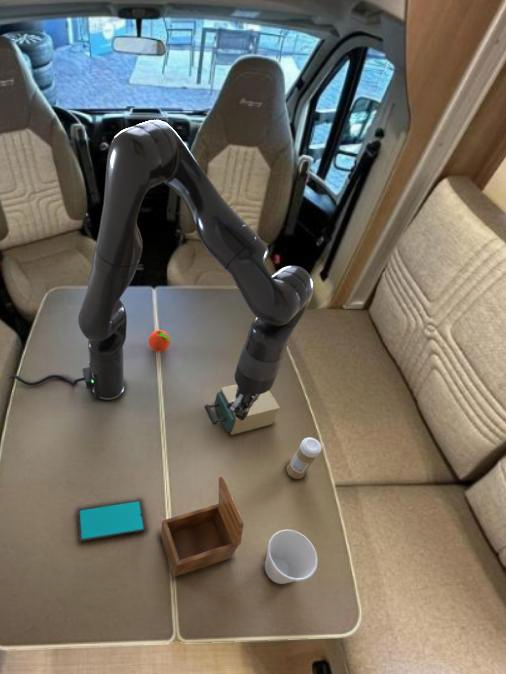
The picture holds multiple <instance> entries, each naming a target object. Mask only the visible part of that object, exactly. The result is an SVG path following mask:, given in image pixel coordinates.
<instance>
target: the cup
mask: <svg viewBox="0 0 506 674" xmlns="http://www.w3.org/2000/svg"><path fill="white" fill-rule="evenodd" d="M318 563H319V560H318V554H317V550H316V549H315V546H314V545H313V544H312V542H311V540H309V538H307V537H306V536H305V535H304V534H302V533H301V532H299V531H297V530H294V529H282V530H279V531H277V532H275V533H274V534H273V535H272V536H271V537H270V538H269V541H268V545H267V554H266V558H265V561H264V570H265V573H266V575H267V577H268V578H269V579H270V580H271V581H272V582H274V583H276V584H278V585H285V584H289V583H293V582H303V581H306V580H308V579H310V578H311V577H313V575H314V574H315V573H316V571H317V569H318Z"/></svg>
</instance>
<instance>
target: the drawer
mask: <svg viewBox="0 0 506 674" xmlns="http://www.w3.org/2000/svg"><path fill="white" fill-rule="evenodd" d="M213 403H214V404H205V405H204V406H203V407H204V410H205V412H206V414H207V415H208V418H209V420H210V422H211V424H212V425H213V426H216V425H217V424H218V423H222V425H223V427H224V429H225V431H226V432H227V433H230V432H231V431H232V428H233V425H234V422H235V416H234V414H233V412H232V411H231V410H230V409H228V408H227V404H228V403H227V401H226V399H225V398H224V396H223V394H222V392H220V391H217V393H216V396H215V400H214V402H213ZM212 408H214V409H215V411H216V412H217V415H218V417H219V418H218V419H217V418H216V416H215V414H214V412H213V410H212Z"/></svg>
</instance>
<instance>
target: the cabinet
mask: <svg viewBox="0 0 506 674" xmlns="http://www.w3.org/2000/svg"><path fill="white" fill-rule="evenodd" d="M237 387H238V385H237V383H236V384H233V385H227V386H224V387H223V386H222V387H221V388H220V390H219V392H222V394H223V396H224V398H225V399H226V401H227V403H231V402H232V401H233V402H235V400H236V393H237V391H236V390H237ZM280 409H281V408H280V406H279V403H278V402H277V400H276V399H275V397H274V396H273V395H272V392H271V391H270V390H269V391H267V392H265V393H263V394H260V396H259V397H258V400H256V401H255V402H254V403H253V406H252V407H251V408H250V409H249V412H248V415H247V417H246V418H245V419H244V420H240V419H238V418H237V417H236V416H235V413H234V412H233V411H232V412H233V414H234V416H235V422H234V425H233V428H232V431H231V432H229V433H230V435H232V436H234V435H236V434H240V433H244V432H249V431H252V430H256V429H260V428H263V427H267V426H270V425H273V423H274V421H275V419H276V418H277V415H278V413H279V411H280Z"/></svg>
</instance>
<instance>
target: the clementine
mask: <svg viewBox="0 0 506 674" xmlns="http://www.w3.org/2000/svg"><path fill="white" fill-rule="evenodd" d="M171 343H172V341H171V337H170V335H169V334H168V333H167V332H166V331H165V330H162V329H156V330H154V331H153V332H151V333H150V334H149V337H148V345H149V347H150V349H151V350H153V351H154V352H158V353H160V352H164V351H166V350H168V348H169V346H170V344H171Z"/></svg>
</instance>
